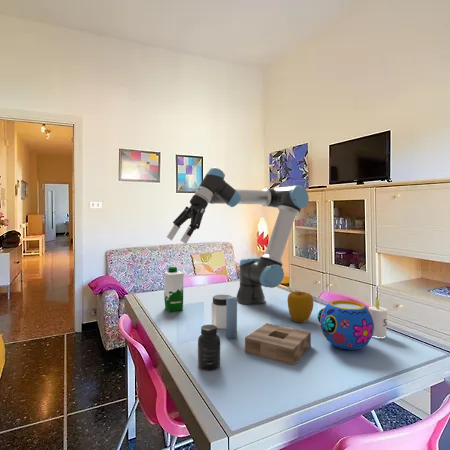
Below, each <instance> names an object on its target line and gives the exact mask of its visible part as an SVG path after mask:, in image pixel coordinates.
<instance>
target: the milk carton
mask: <svg viewBox="0 0 450 450" xmlns="http://www.w3.org/2000/svg"><path fill="white" fill-rule="evenodd" d="M163 273H164V274H163V275H164V281H163V282H164V285H163V287H164V296H163V297H164V308H165V310H167V312H168V313H171V312H179V311H180V312H181V311H184V273H183V272H182V271H180V270H178V267H176V266H169V267H168V271H164V272H163Z"/></svg>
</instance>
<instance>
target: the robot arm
mask: <svg viewBox="0 0 450 450" xmlns="http://www.w3.org/2000/svg"><path fill="white" fill-rule="evenodd" d="M225 177H226V174H225V173H224V171H223V170H221V169H220V168H218V167H211V168H210V169H209V170H208V171H207V172H206V174H205V176H204V177H203V180H202V181H201V183H200V184H199V185H198V187H196V191H195V192H194V194H193V195H192V197H191V198H190V200H189V204H190V206H185V208H184V209H183V210H182V211H181V212H180V214H179V215H178V216H177V217H176V218H175V219H174V220H173V221H172V223H173V226H172V228H171V230H169V232H168V233H167V235H166V238H167V239H169V240H170V241H173V239H174V238H175V236H176V234H177V233H178V231H179V230H180V228H181V226H182V225H183V224H184V223H185V222H186V221H188V220H190V224H188V227H187V228H186V230H185V232H184V233H183V234H182V237H181V239H180V242H182V243H183V244H185V245H186V244H187V243H188V241H189V240H190V238H191V236H193V233H194V232H195V231H196V230H199V229H200V226H201V223H202V220H203V217H204V214H205V212H206V209H207V207H208V205H209V204H211V205H213V204H214V205H215V204H226V205H227V206H228V207H231V208H233V207H236V206H237V205H262V206H263V207H271V208H276V209H277V210H278V215H277V217H276V221H275V223H274V225H273V229H272V232H271V235H270V237H269V241H268V242H267V246H266V249H265V252H264V254H262V255H260V257H250V258H249V257H247V258H241V259H240V260H239V286H238V287H239V288H238V290H237V294H236V297H237V303H239V304H243V305H260V304H263V302H264V303H265V302H266V301H265V299H266V297H265V294H264V290H263V287H264V288H269V289H273V288H276V287H278V286H279V285H281V283H282V282H283V280H284V277H285V272H284V269H283V266H284V264H283V262H282V258H283V255H284V252H285V249H286V245H287V243H288V239H289V237H290V234H291V231H292V228H293V224H294V222H295V219H296V216H298V215H300V213H301V211H302V209H304V208H306V207H307V206H308V204H309V197H310V196H309V194H308V190H307V189H306V188H305V187H304V186H302V185H297V184H294V185H288V186H279V187H272V188H264V189H261V190H258V189H243V188H242V189H240V188H238V189H237V188H236V189H235V188H234V187H233V186H231V185H230V184H229V183H228V182H227V181H225Z"/></svg>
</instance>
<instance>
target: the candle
mask: <svg viewBox="0 0 450 450" xmlns="http://www.w3.org/2000/svg"><path fill="white" fill-rule="evenodd" d="M379 301H380V300H379V298H378V297H377V296H375V306H374V305H373V306H369V307H368V310H369V312H370V314H371V316H372V319H373V323H374V332H373V336H377V337H384V336H386V337H387V322H388V316H387V315H388V309H387V308H385V307H383V306H380V302H379Z"/></svg>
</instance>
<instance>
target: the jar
mask: <svg viewBox="0 0 450 450" xmlns="http://www.w3.org/2000/svg"><path fill="white" fill-rule="evenodd" d="M227 297H233V296H232V295H231V294H216V295H213V296H212V302H211V325H215V326H216V327H217V329H220V330H221V329H222V330H223V329H225V330H226V298H227Z"/></svg>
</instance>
